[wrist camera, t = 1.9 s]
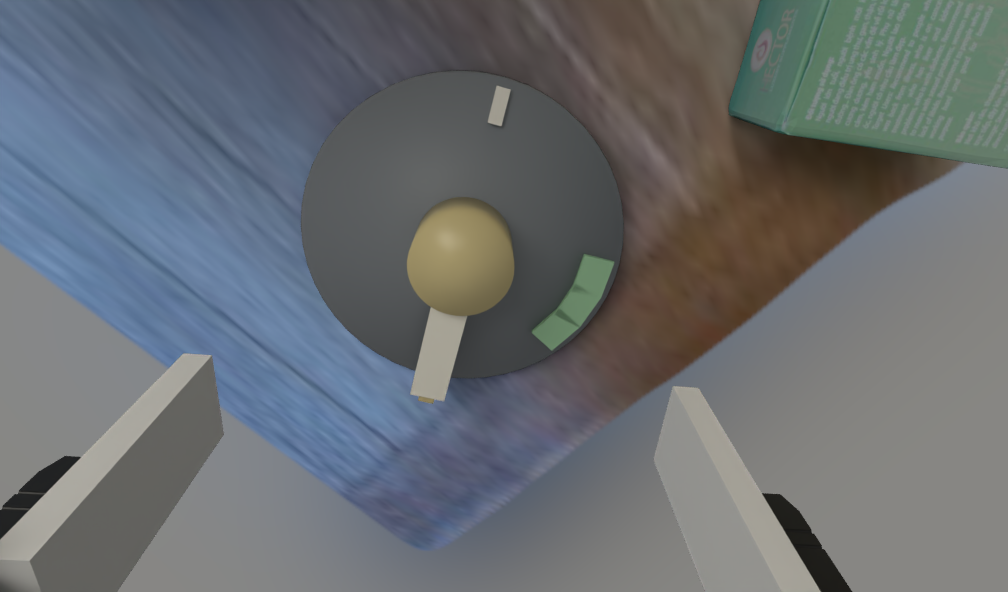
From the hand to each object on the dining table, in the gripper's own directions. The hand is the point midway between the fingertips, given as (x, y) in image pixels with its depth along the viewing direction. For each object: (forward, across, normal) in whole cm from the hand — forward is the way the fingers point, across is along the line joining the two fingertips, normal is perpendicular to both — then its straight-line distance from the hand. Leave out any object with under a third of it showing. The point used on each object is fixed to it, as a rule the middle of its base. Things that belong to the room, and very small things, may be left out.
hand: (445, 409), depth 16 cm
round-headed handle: (+19, -1, -5) cm, 20 cm away
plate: (+21, 0, -2) cm, 21 cm away
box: (+21, +21, +10) cm, 32 cm away
